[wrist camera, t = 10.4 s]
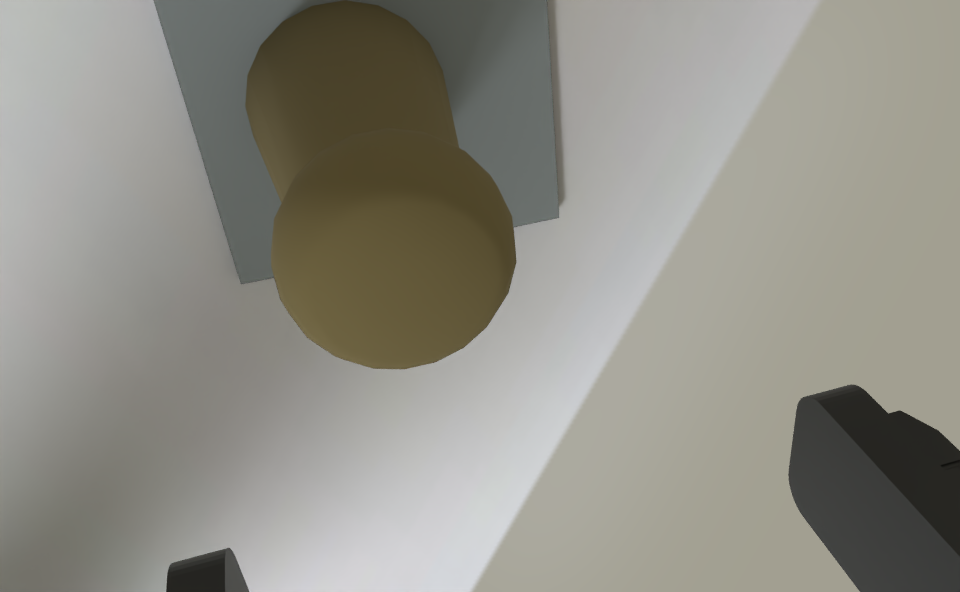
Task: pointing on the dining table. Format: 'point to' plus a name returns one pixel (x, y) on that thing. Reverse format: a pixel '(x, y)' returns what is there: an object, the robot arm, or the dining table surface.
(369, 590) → the dining table surface
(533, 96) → the mat
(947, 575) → the robot arm
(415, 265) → the cork
